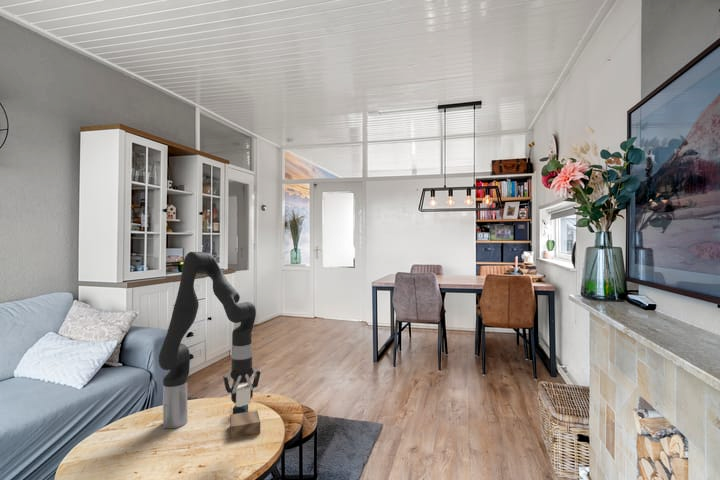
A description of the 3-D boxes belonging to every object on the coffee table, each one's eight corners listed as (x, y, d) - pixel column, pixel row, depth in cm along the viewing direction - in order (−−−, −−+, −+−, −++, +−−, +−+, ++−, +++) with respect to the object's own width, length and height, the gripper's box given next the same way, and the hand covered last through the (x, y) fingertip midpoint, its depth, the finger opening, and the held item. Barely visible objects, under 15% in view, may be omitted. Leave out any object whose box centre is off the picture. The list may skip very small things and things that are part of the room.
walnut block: (231, 439, 146) (231, 426, 146) (230, 426, 157) (230, 414, 157) (260, 434, 151) (260, 421, 151) (257, 421, 161) (257, 410, 161)
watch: (249, 409, 172) (249, 385, 172) (243, 417, 164) (243, 392, 164) (237, 409, 172) (237, 385, 172) (231, 417, 164) (230, 392, 164)
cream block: (236, 406, 138) (236, 390, 138) (233, 402, 142) (233, 386, 142) (250, 403, 141) (250, 387, 141) (247, 399, 145) (247, 383, 145)
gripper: (257, 350, 148) (258, 393, 148) (220, 356, 141) (220, 401, 141) (263, 355, 142) (263, 399, 142) (224, 361, 135) (224, 408, 134)
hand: (242, 400), depth 141 cm, fingers closed on cream block, 5 cm apart
